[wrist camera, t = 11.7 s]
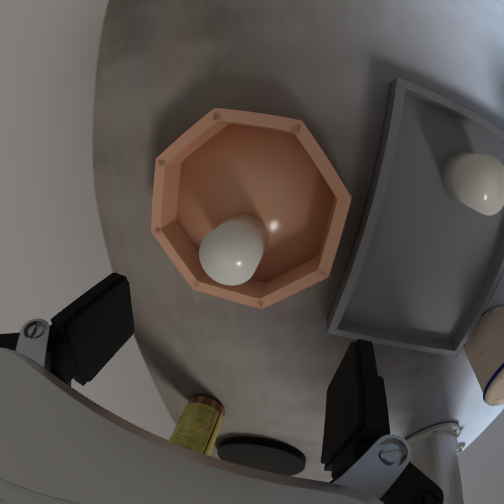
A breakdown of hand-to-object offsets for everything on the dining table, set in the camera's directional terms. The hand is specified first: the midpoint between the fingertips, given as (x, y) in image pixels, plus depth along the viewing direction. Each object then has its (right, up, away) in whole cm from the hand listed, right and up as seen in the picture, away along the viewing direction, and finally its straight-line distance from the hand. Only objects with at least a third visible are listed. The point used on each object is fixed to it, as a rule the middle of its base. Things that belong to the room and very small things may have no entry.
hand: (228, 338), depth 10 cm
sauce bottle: (-6, -21, +28) cm, 36 cm away
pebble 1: (0, +5, +15) cm, 16 cm away
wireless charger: (+3, -38, +33) cm, 50 cm away
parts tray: (+19, +5, +11) cm, 22 cm away
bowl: (+1, +8, +14) cm, 16 cm away
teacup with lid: (+33, -7, +12) cm, 36 cm away
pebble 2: (+20, +10, +8) cm, 23 cm away
